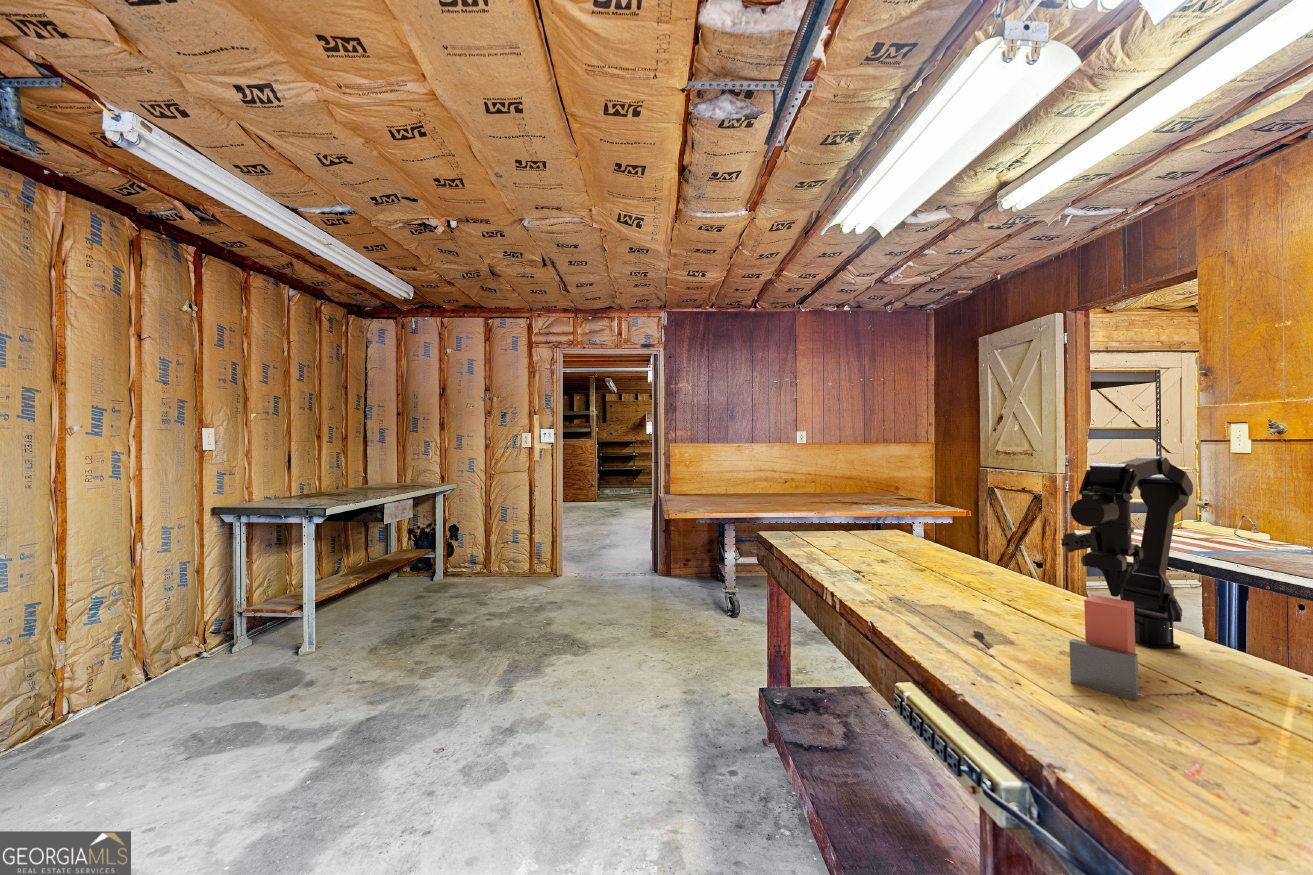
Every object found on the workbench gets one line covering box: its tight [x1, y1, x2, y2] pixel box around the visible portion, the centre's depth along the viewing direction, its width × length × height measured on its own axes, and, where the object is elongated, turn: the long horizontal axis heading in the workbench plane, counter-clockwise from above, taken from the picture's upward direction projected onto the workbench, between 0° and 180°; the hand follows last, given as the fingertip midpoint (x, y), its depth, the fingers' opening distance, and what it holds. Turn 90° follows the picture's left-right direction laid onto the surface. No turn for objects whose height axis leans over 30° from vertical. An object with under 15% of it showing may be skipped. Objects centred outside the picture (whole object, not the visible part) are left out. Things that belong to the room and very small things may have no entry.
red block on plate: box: [1083, 594, 1137, 654], centre depth 95 cm, size 5×6×15 cm
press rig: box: [1068, 638, 1145, 703], centre depth 95 cm, size 14×10×9 cm
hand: (1114, 596), depth 107 cm, fingers closed
